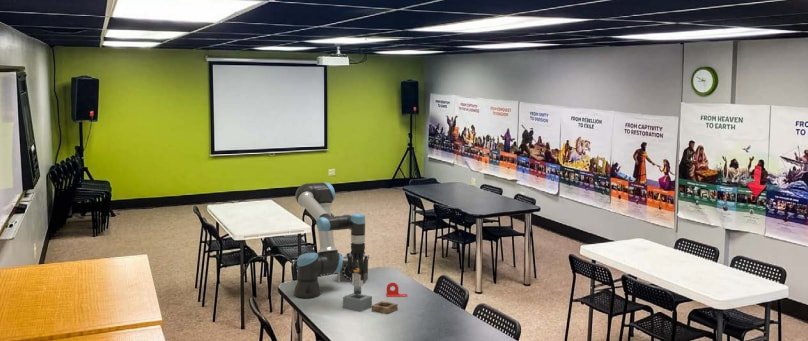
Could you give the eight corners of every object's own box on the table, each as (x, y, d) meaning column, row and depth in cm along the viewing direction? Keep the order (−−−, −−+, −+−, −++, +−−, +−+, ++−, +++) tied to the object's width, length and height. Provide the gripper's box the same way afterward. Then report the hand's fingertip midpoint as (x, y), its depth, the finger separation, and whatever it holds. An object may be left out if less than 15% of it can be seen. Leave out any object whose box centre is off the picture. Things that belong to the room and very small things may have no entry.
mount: (371, 311, 337) (371, 305, 337) (381, 306, 346) (382, 301, 345) (387, 314, 332) (387, 308, 332) (397, 309, 340) (397, 303, 340)
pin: (351, 293, 341) (351, 269, 340) (356, 291, 345) (356, 268, 344) (358, 295, 339) (358, 270, 338) (363, 293, 343) (363, 269, 342)
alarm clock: (335, 285, 387) (335, 256, 386) (341, 280, 400) (341, 251, 399) (364, 287, 384) (364, 257, 383) (369, 282, 397) (369, 253, 396)
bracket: (386, 298, 362) (386, 284, 362) (386, 295, 367) (386, 282, 366) (407, 298, 363) (407, 284, 362) (407, 295, 368) (407, 282, 367)
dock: (342, 307, 342) (343, 297, 341) (353, 303, 350) (353, 292, 350) (361, 311, 336) (361, 300, 335) (371, 307, 344) (371, 296, 344)
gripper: (341, 241, 341) (341, 284, 343) (366, 245, 333) (366, 289, 334) (349, 239, 348) (349, 281, 349) (374, 243, 339) (374, 286, 341)
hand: (357, 285), depth 342 cm, fingers closed on pin, 4 cm apart
